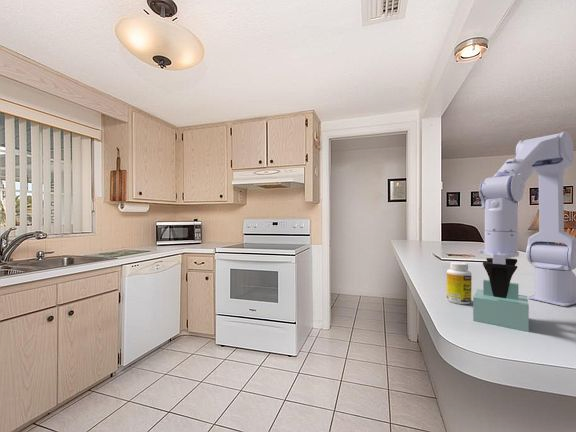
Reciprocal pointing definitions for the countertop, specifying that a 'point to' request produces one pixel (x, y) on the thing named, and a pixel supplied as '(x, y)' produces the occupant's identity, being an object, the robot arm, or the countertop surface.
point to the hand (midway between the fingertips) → (500, 293)
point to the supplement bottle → (459, 283)
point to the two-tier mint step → (501, 308)
